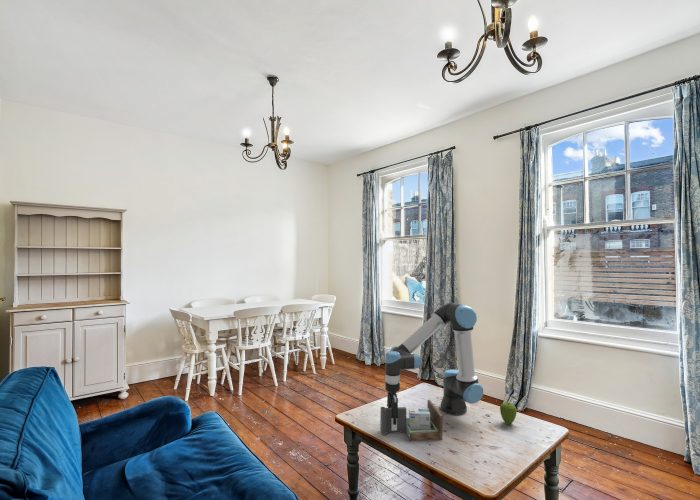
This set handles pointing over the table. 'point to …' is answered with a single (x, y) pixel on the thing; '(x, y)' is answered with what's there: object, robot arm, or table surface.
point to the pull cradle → (399, 422)
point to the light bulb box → (419, 419)
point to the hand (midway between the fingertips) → (392, 426)
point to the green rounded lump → (508, 412)
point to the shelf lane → (437, 421)
